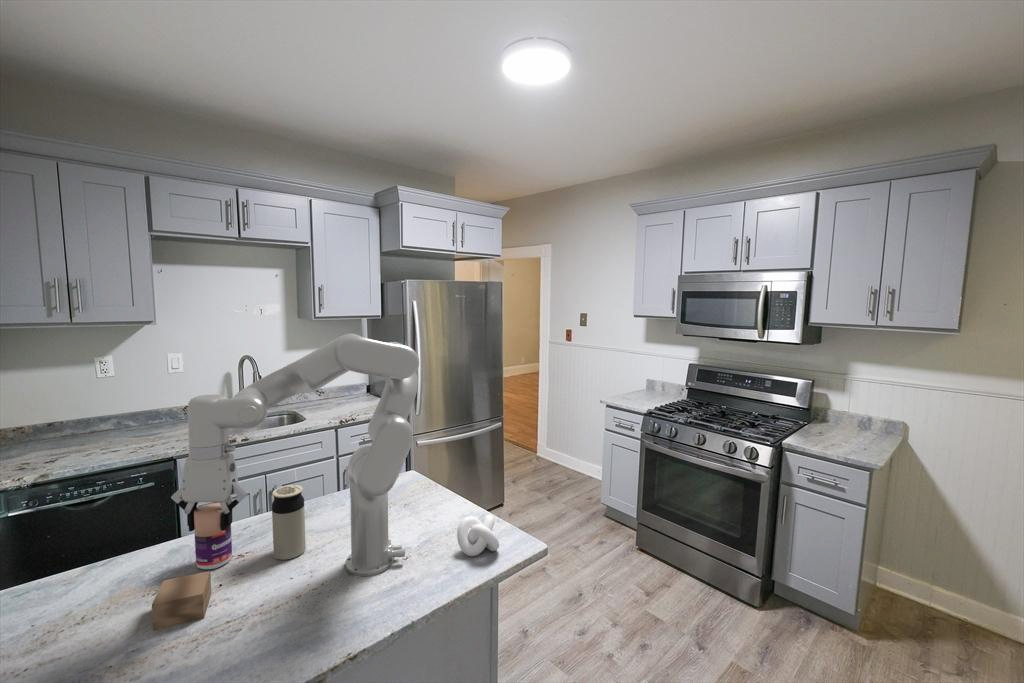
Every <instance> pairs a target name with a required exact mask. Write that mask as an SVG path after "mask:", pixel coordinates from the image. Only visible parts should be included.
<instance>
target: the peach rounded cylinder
mask: <svg viewBox="0 0 1024 683" xmlns="http://www.w3.org/2000/svg"><path fill="white" fill-rule="evenodd" d="M222 513H223V510H222V508H221V506H220V503H219V502H210V503H207V504H203V505H200V506H199V507H198V506H197V509H195V510H194V530H193V534H194V536H195V535H196V536H198V537H208V536H213V535H216V534H219V533H221V532H223V531H222V530H221V514H222Z"/></svg>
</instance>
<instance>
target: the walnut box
mask: <svg viewBox="0 0 1024 683" xmlns="http://www.w3.org/2000/svg"><path fill="white" fill-rule="evenodd" d="M211 576H212V575H211V570H208V571H203V572H198V573H194V574H193V573H192V574H189V575H188V574H187V575H185V576H179V577H174V578H169V579H164V580H162V582H161V585H160V587H159V589H158V591H157V593H156V595H155V597H154V599H153V601H152V602H151V603H152V604H151V613H152V614H151V617H152V630H153V632H154V631H158V630H162V629H165V628H170V627H173V626H179V625H182V624H183V625H184V624H186V623H192V622H195V621H199V620H203V619H205V616H206V613H207V610H208V607H209V603H210V600H211V596H212V582H211V581H212V578H211Z"/></svg>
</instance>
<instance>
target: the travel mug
mask: <svg viewBox="0 0 1024 683" xmlns="http://www.w3.org/2000/svg"><path fill="white" fill-rule="evenodd" d="M303 490H304V488H303V486H301V485H299V484H287V485H284V486H283V485H282V486H280V487H277V488H276V489H274V490H273V491H272V497H273V501H272V503H271V517H272V520H271V521H272V543H273V544H272V545H273V546H272V547H273V548H272V549H273V557H274V558H275V559H277V560H291V559H295V558H297V557H299V556H301V555H302V554H303V553H304V552H305V551H306V550H307V549H306V548H307V547H306V546H307V543H306V518H305V498H304V497H303V495H302V492H303Z"/></svg>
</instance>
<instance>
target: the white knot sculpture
mask: <svg viewBox="0 0 1024 683" xmlns="http://www.w3.org/2000/svg"><path fill="white" fill-rule="evenodd" d="M494 526H495V517H494V515H493V514H486V515H485V516H484V517H483V518H481V520H480V519H478V518H477V517H475V516H466V517H464V518H463V519H462V520H461V521H460V522H459V524H458V527H457V533H456V538H457V542H458V547H459V548H460V550H461V551H462V552H463V553H464V555H466V556H469V557H476V556H479V555H481V553H482V552H483V551H484V550H485V548H486V549H487V550H488V551H491V552H496V551H497V550H498V549H499V547H500V541H499V538H498V537H497V535H495V534H496V533H494V531H493V528H494Z"/></svg>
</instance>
